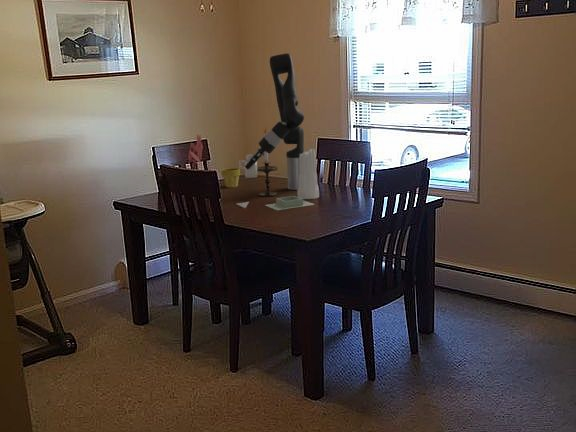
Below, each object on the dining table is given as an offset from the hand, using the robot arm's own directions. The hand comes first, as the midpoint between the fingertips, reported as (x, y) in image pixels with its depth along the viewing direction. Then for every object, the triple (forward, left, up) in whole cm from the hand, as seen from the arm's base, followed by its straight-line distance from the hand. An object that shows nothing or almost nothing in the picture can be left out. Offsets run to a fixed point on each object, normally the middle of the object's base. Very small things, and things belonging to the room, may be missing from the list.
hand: (247, 166), depth 327 cm
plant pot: (-11, -52, -19) cm, 57 cm away
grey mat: (-1, +1, -19) cm, 19 cm away
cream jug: (0, 0, -5) cm, 5 cm away
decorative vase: (-30, +4, -19) cm, 36 cm away
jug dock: (-14, +15, -19) cm, 28 cm away
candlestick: (-17, -16, -19) cm, 30 cm away
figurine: (+19, -13, -19) cm, 30 cm away
